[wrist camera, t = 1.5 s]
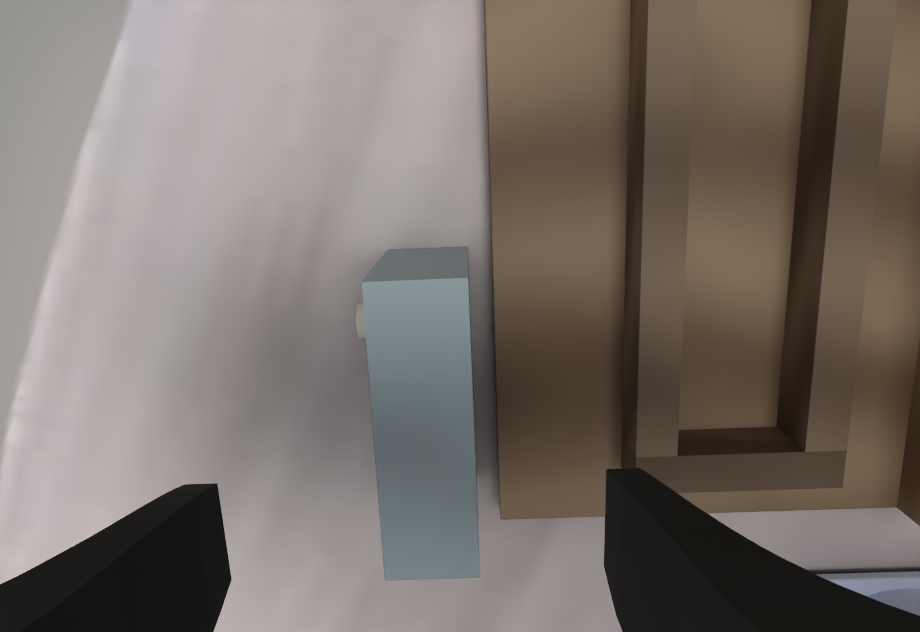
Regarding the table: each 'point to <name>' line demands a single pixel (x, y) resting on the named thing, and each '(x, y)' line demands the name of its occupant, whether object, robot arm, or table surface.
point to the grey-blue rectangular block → (422, 411)
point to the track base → (706, 251)
